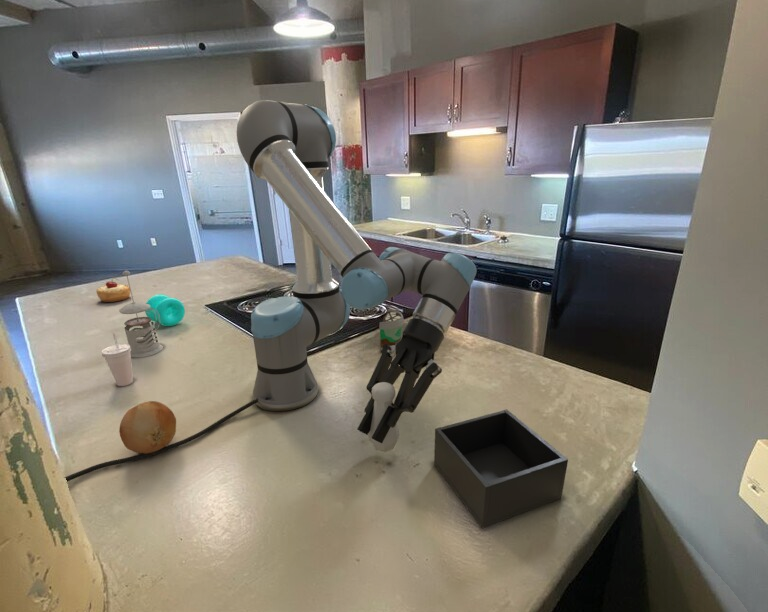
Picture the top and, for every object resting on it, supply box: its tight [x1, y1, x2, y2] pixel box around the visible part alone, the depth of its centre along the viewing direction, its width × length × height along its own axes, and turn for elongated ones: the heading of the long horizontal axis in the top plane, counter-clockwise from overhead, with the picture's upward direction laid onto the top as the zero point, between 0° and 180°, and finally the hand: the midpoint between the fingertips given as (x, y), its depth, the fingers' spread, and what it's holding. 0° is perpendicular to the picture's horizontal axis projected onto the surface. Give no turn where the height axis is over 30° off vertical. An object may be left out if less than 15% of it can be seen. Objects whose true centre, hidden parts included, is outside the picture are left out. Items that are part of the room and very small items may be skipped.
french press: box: [118, 270, 164, 358], centre depth 123 cm, size 10×12×25 cm
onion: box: [119, 400, 177, 454], centre depth 82 cm, size 10×10×10 cm
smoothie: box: [101, 331, 134, 387], centre depth 106 cm, size 6×6×14 cm
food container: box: [378, 308, 405, 353], centre depth 125 cm, size 12×6×10 cm, turn 168°
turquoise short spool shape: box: [144, 294, 186, 327], centre depth 146 cm, size 10×10×10 cm
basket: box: [433, 409, 569, 529], centre depth 72 cm, size 16×16×8 cm
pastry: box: [95, 277, 131, 303], centre depth 174 cm, size 12×12×9 cm
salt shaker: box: [368, 382, 400, 453], centre depth 77 cm, size 6×6×13 cm
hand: (369, 436), depth 76 cm, fingers closed on salt shaker, 3 cm apart
